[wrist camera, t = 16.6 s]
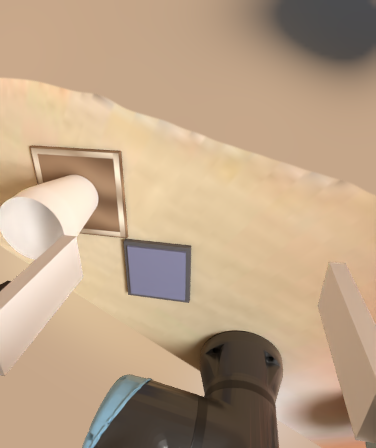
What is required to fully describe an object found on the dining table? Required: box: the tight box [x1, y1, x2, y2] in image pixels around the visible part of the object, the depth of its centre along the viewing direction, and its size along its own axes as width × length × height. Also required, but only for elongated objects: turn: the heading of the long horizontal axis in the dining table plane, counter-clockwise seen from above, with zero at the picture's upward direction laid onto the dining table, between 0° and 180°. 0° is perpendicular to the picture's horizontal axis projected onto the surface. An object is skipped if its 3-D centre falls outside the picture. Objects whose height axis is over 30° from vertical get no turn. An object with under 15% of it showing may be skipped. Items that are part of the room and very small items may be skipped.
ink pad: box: [124, 239, 191, 303], centre depth 52 cm, size 11×11×1 cm
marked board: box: [30, 146, 128, 238], centre depth 48 cm, size 14×14×1 cm
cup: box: [0, 175, 98, 260], centre depth 43 cm, size 9×9×12 cm
